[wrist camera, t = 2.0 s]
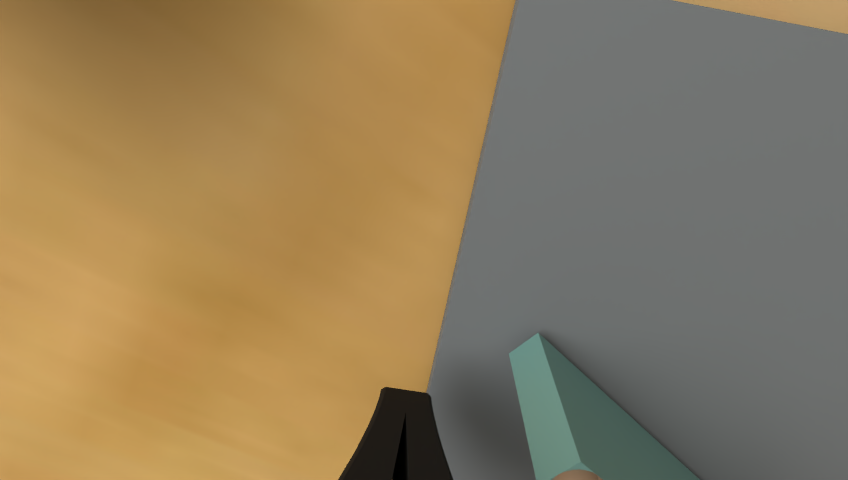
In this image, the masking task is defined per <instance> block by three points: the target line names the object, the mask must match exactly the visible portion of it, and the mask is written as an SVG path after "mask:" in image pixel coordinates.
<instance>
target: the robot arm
mask: <svg viewBox="0 0 848 480" xmlns="http://www.w3.org/2000/svg"><path fill="white" fill-rule="evenodd" d="M338 480H453V477H452V474H451V471H450V468H449V465H448V462H447V459H446V456H445V453H444V450H443V447H442V444H441V440H440V437H439V433H438V429H437V425H436V421H435V417H434V412H433V407H432V400H431V396H430V395H429V394H428V393H422V392H416V391H409V390H402V389H396V388H389V387H385V388H383V389H381V393H380V397H379V400H378V403H377V406H376V409H375V411H374V414H373V416H372V418H371V421H370V423H369V425H368V427H367V429H366V431H365V433H364V435H363V437H362V439H361V441H360V443H359V445H358V447H357V449H356V451H355V452H354V454H353V456H352V458H351V459H350V461H349V463H348V464H347V466H346V468H345V469H344V471H343V473H342V474H341V476H340V478H339V479H338Z"/></svg>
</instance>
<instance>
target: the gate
mask: <svg viewBox="0 0 848 480" xmlns="http://www.w3.org/2000/svg"><path fill="white" fill-rule="evenodd" d="M509 357H510V361H511V366H512V371H513V375H514V380H515V385H516V389H517V394H518V398H519V403H520V408H521V412H522V417H523V421H524V426H525V431H526V435H527V440H528V445H529V449H530V454H531V458H532V463H533V468H534V472H535V477H536V480H700V479H699V478H697V477H696V476H695V475H694V474H693V473H692V472H691V471H690V470H689V469H688V468H686V467H685V466H684V465H683V464H682V463H681V462H680V461H679V460H678V459H677V458H675V457H674V456H673V455H672V454H671V453H670V452H669V451H668V450H667V449H666V448H664V447H663V446H662V445H661V444H660V443H659V442H658V441H657V440H656V439H655V438H653V437H652V436H651V435H650V434H649V433H648V432H647V431H646V430H645V429H644V428H643V427H641V426H640V425H639V424H638V423H637V422H636V421H635V420H634V419H633V418H632V417H630V416H629V415H628V414H627V413H626V412H625V411H624V410H623V409H622V408H621V407H619V406H618V405H617V404H616V403H615V402H614V401H613V400H612V399H611V398H610V397H608V396H607V395H606V394H605V393H604V392H603V391H602V390H601V389H600V388H599V387H597V386H596V385H595V384H594V383H593V382H592V381H591V380H590V379H589V378H588V377H586V376H585V375H584V374H583V373H582V372H581V371H580V370H579V369H578V368H577V367H575V366H574V365H573V364H572V363H571V362H570V361H569V360H568V359H567V358H566V357H564V356H563V355H562V354H561V353H560V352H559V351H558V350H557V349H556V348H555V347H553V346H552V345H551V344H550V343H549V342H548V341H547V340H546V339H545V338H544V337H542V336H541V335H540V334H539V333H537V334H536V335H534V336H533V337H531V338H530V339H529V340H527V341H526V342H524V343H523V344H522V345H520V346H519V347H517V348H516V349H515V350H513V351H512V352H510V353H509Z"/></svg>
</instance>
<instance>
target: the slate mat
mask: <svg viewBox="0 0 848 480" xmlns="http://www.w3.org/2000/svg"><path fill="white" fill-rule="evenodd" d="M537 333H539V334H540V335H541V336H542V337H544V338H545V339H546V340H547V341H548V342H549V343H550V344H551V345H552V346H553V347H555V348H556V349H557V350H558V351H559V352H560V353H561V354H562V355H563V356H564V357H566V358H567V359H568V360H569V361H570V362H571V363H572V364H573V365H574V366H575V367H577V368H578V369H579V370H580V371H581V372H582V373H583V374H584V375H585V376H586V377H588V378H589V379H590V380H591V381H592V382H593V383H594V384H595V385H596V386H597V387H599V388H600V389H601V390H602V391H603V392H604V393H605V394H606V395H607V396H608V397H610V398H611V399H612V400H613V401H614V402H615V403H616V404H617V405H618V406H619V407H621V408H622V409H623V410H624V411H625V412H626V413H627V414H628V415H629V416H630V417H632V418H633V419H634V420H635V421H636V422H637V423H638V424H639V425H640V426H641V427H643V428H644V429H645V430H646V431H647V432H648V433H649V434H650V435H651V436H652V437H653V438H655V439H656V440H657V441H658V442H659V443H660V444H661V445H662V446H663V447H664V448H666V449H667V450H668V451H669V452H670V453H671V454H672V455H673V456H674V457H675V458H677V459H678V460H679V461H680V462H681V463H682V464H683V465H684V466H685V467H686V468H688V469H689V470H690V471H691V472H692V473H693V474H694V475H695V476H696V477H697V478H699V479H700V480H848V34H843V33H838V32H833V31H828V30H823V29H818V28H812V27H807V26H802V25H797V24H792V23H787V22H781V21H776V20H771V19H766V18H761V17H755V16H750V15H745V14H740V13H735V12H730V11H724V10H719V9H714V8H709V7H704V6H699V5H693V4H688V3H683V2H678V1H673V0H516V1H515V5H514V10H513V14H512V18H511V23H510V27H509V32H508V36H507V40H506V45H505V49H504V54H503V58H502V62H501V67H500V71H499V76H498V80H497V84H496V89H495V93H494V98H493V102H492V106H491V111H490V115H489V120H488V124H487V128H486V133H485V137H484V142H483V146H482V150H481V155H480V159H479V164H478V168H477V172H476V177H475V181H474V185H473V190H472V194H471V199H470V203H469V207H468V212H467V216H466V221H465V225H464V229H463V234H462V238H461V243H460V247H459V251H458V256H457V260H456V265H455V269H454V273H453V278H452V282H451V287H450V291H449V295H448V300H447V304H446V309H445V313H444V317H443V322H442V326H441V331H440V335H439V339H438V344H437V348H436V353H435V357H434V361H433V366H432V370H431V375H430V379H429V383H428V388H427V392H426V393H428V394H429V395H430V396H431V400H432V407H433V412H434V417H435V421H436V425H437V429H438V433H439V437H440V440H441V444H442V447H443V450H444V453H445V456H446V459H447V462H448V465H449V468H450V471H451V474H452V477H453V480H536V477H535V472H534V468H533V463H532V458H531V454H530V449H529V445H528V440H527V435H526V431H525V426H524V421H523V417H522V412H521V408H520V403H519V398H518V394H517V389H516V385H515V380H514V375H513V371H512V366H511V361H510V357H509V353H510V352H512V351H513V350H515V349H516V348H517V347H519V346H520V345H522V344H523V343H524V342H526V341H527V340H529V339H530V338H531V337H533V336H534V335H536V334H537Z"/></svg>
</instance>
